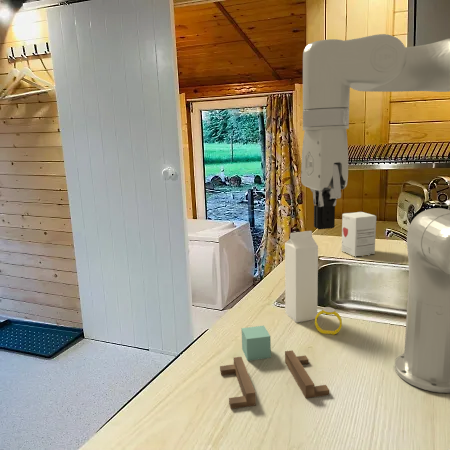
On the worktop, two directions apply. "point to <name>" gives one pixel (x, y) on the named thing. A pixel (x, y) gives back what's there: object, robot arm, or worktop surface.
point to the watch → (329, 312)
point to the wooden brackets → (248, 389)
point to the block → (256, 343)
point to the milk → (301, 276)
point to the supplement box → (358, 233)
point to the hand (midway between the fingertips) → (324, 227)
